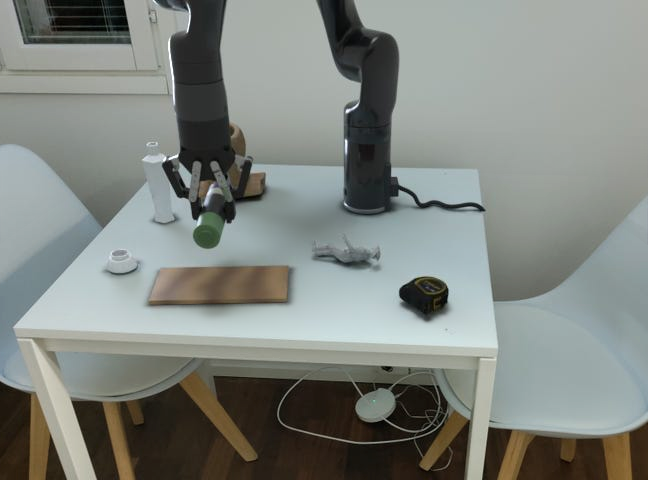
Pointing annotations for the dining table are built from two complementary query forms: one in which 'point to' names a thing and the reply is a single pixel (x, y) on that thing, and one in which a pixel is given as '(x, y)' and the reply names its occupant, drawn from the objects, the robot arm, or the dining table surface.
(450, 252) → the dining table surface
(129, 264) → the white jar
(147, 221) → the dining table surface
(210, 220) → the marker
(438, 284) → the tape measure
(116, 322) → the dining table surface
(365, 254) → the soldier figure
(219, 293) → the wooden board
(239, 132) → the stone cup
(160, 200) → the perfume bottle
